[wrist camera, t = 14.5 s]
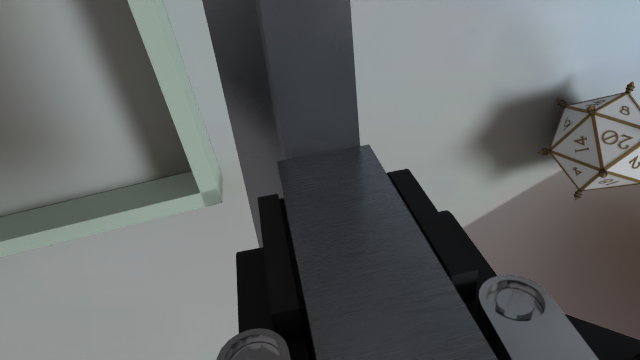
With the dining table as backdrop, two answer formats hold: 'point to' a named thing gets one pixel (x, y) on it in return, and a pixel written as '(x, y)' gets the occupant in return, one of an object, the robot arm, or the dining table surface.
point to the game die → (599, 142)
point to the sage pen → (145, 197)
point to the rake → (332, 186)
